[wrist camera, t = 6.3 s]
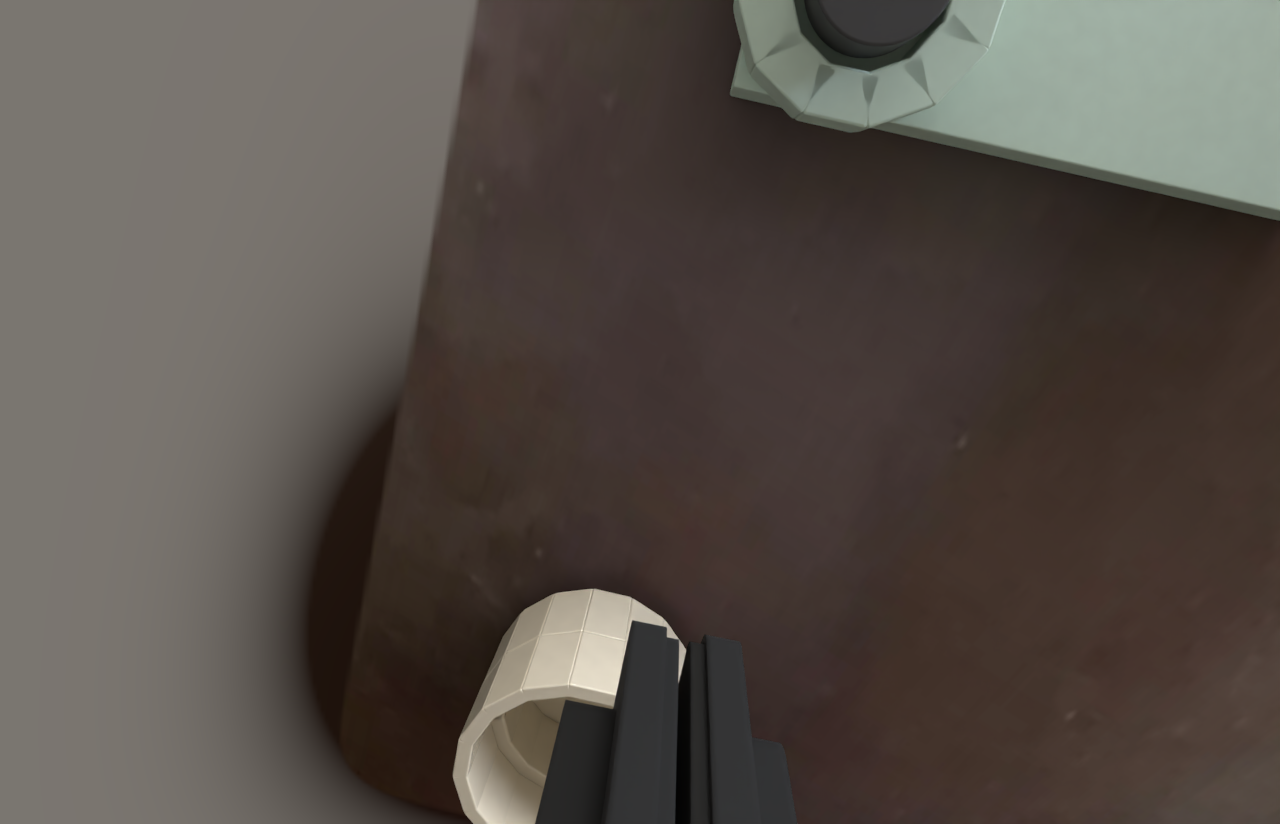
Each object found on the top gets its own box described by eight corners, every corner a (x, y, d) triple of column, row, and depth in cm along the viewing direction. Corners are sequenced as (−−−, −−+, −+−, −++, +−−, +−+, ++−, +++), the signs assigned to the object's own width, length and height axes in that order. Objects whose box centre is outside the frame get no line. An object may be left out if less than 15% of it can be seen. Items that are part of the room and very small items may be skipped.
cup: (489, 719, 27) (439, 846, 22) (518, 562, 25) (471, 661, 20) (666, 760, 27) (659, 897, 22) (710, 606, 25) (715, 717, 20)
